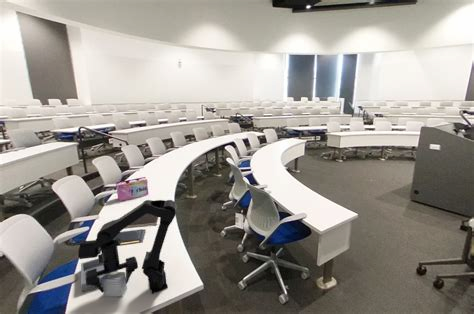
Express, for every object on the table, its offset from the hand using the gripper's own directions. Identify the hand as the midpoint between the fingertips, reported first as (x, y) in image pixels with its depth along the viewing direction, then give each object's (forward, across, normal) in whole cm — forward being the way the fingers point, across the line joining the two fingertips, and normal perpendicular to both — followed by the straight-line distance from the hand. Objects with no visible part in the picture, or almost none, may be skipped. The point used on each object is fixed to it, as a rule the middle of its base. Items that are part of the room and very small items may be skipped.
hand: (114, 287), depth 102 cm
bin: (+3, +5, -16) cm, 17 cm away
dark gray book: (+3, -10, -42) cm, 43 cm away
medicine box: (+3, 0, 0) cm, 3 cm away
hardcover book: (+3, -21, -60) cm, 64 cm away
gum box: (+3, -25, -106) cm, 109 cm away
